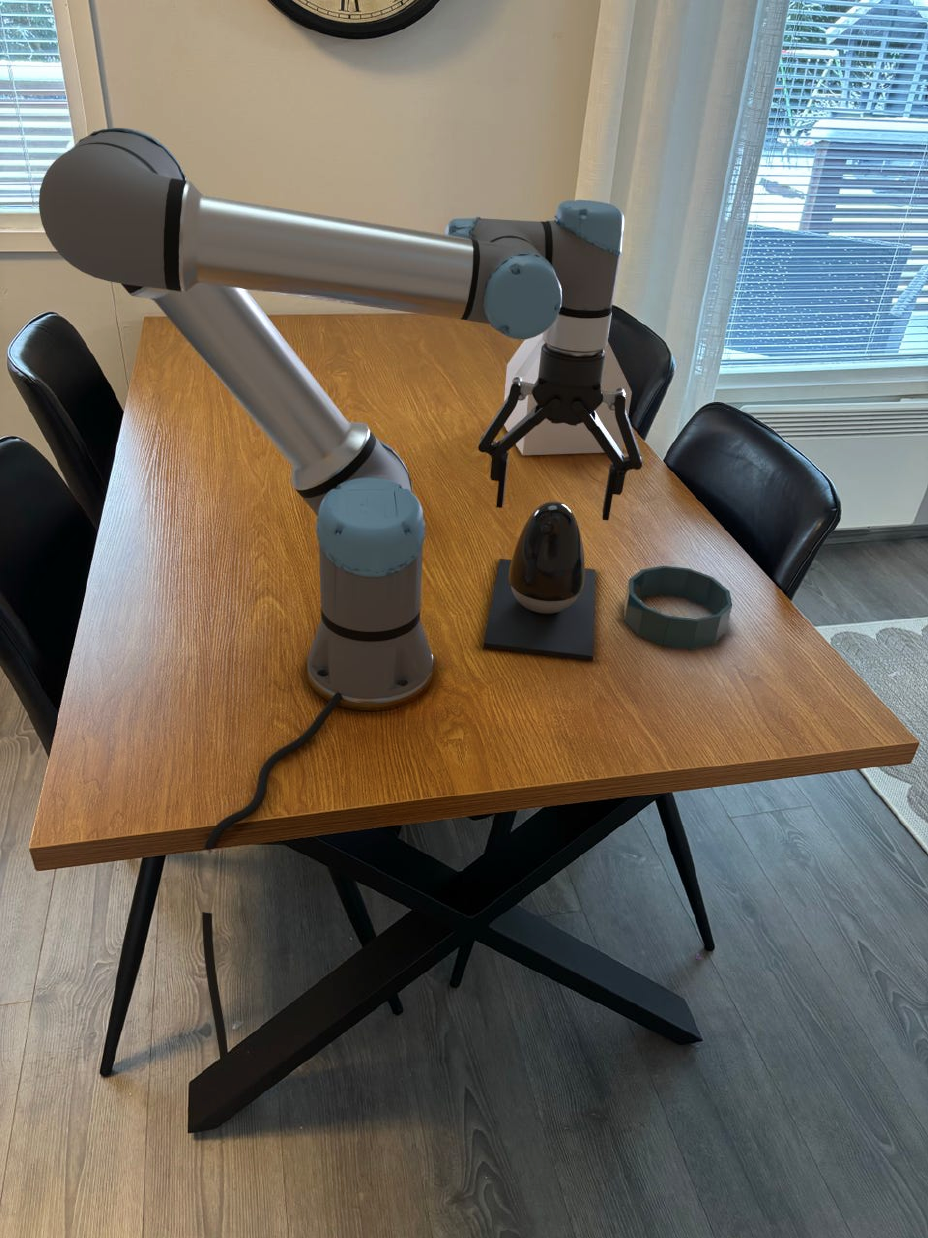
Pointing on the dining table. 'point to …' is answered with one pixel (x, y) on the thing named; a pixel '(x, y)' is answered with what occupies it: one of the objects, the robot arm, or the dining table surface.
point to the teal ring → (671, 627)
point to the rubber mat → (541, 622)
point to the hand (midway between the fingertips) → (552, 509)
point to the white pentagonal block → (561, 435)
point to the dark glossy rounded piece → (548, 560)
